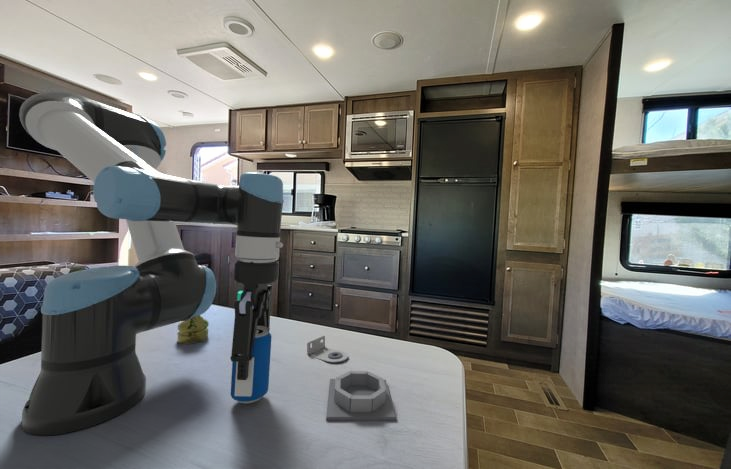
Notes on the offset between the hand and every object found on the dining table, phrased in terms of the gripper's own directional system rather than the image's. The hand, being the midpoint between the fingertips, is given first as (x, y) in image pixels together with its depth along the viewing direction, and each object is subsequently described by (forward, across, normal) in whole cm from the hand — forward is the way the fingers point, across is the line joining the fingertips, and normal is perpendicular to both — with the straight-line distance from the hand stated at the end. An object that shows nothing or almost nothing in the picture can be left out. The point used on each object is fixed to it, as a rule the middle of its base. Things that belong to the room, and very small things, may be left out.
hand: (250, 383), depth 52 cm
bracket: (+4, +20, -14) cm, 24 cm away
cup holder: (+3, +1, -20) cm, 21 cm away
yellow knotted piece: (+4, +28, +24) cm, 37 cm away
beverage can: (+2, 0, 0) cm, 2 cm away
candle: (+4, +41, +14) cm, 43 cm away
